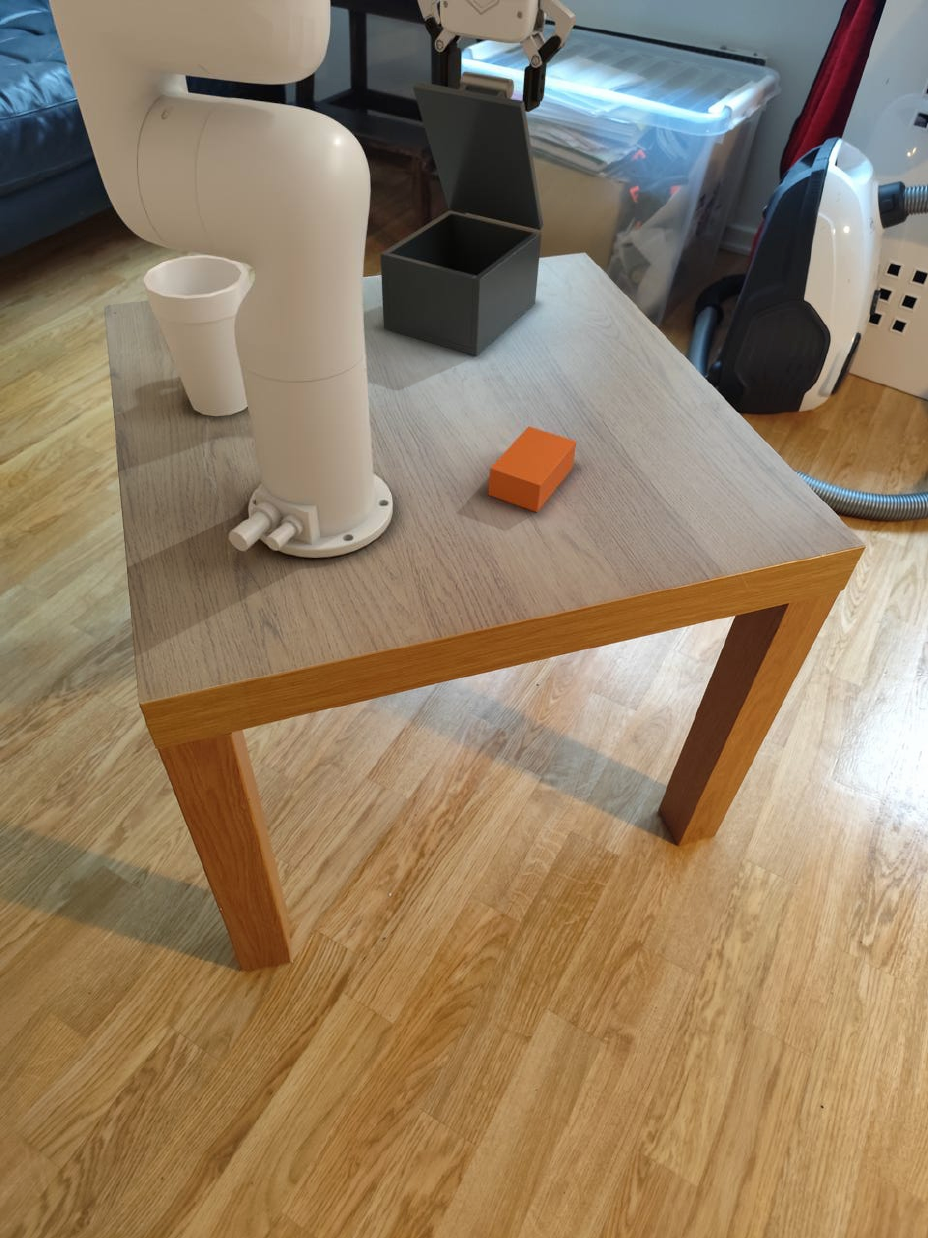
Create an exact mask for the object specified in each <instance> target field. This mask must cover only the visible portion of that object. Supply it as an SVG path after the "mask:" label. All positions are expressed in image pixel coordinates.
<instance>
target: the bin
mask: <svg viewBox="0 0 928 1238" xmlns="http://www.w3.org/2000/svg"><path fill="white" fill-rule="evenodd" d="M542 235H543V233H542V232H541V231H539V230H535V229H530V228H526V227H522V226H518V225H514V224H509V223H505V222H501V221H497V220H492V219H488V218H484V217H480V216H475V215H471V214H467V213H463V212H459V211H455V210H448V211H446V212H445V213H443V214H441V215H440V216H438V217H437V218H435V219H434V220H432V221H430V222H429V223H427V224H426V225H424V226H423V227H421V228H419V229H418V230H416V231H414V232H413V233H411V234H409V235H408V236H406V237H405V238H403V239H401V240H400V241H399V242H397V243H395V244H393V245H392V246H390V247H389V248H387V249H386V250H384V251H382V252H381V253H380V277H381V300H382V321H383V322H382V323H383V329H384V330H387V331H391V332H393V333H397V334H401V335H404V336H408V337H410V338H415V339H417V340H421V341H425V342H427V343H431V344H435V345H437V346H441V347H445V348H447V349H451V350H454V351H458V352H462V353H465V354H468V355H471V356H475V357H477V356H478V355H479V354H481V353H482V352H483V351H484V350H485V349H486V348H488V346H490V345H491V344H492V343H493V342H495V340H497V338H499V337H500V336H501V335H502V334H503V333H504V332H506V330H508V329H509V328H510V327H512V325H514V323H516V322H517V321H518V320H519V319H520V318H522V316H523V315H525V314H526V313H527V312H528V311H529V310H530V309H532V307H534V306H535V305H536V298H537V287H538V278H539V277H538V276H539V267H540V266H539V265H540V254H541V243H542Z"/></svg>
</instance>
